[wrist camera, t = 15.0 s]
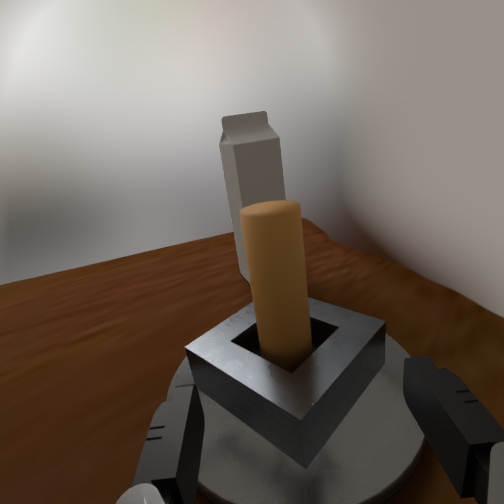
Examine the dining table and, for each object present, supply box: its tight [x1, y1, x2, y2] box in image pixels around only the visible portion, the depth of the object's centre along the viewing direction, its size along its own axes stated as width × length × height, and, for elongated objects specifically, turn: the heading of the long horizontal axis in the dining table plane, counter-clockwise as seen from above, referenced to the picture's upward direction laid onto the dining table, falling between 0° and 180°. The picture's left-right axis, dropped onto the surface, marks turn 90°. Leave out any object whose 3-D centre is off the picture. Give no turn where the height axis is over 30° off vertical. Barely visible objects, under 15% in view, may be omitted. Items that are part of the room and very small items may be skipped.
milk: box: [219, 111, 286, 283], centre depth 43 cm, size 6×6×22 cm
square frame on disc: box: [166, 297, 426, 504], centre depth 26 cm, size 20×20×6 cm
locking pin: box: [239, 200, 313, 374], centre depth 24 cm, size 4×4×14 cm
